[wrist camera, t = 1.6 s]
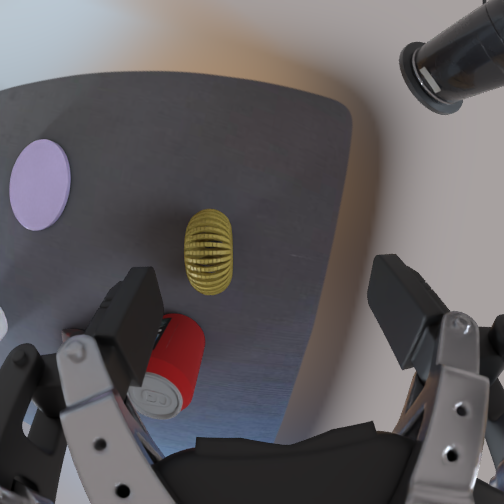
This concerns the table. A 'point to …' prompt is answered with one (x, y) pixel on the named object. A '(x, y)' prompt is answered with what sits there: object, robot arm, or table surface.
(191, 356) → the beverage can
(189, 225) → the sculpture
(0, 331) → the cup
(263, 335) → the table surface
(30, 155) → the saucer
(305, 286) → the table surface
